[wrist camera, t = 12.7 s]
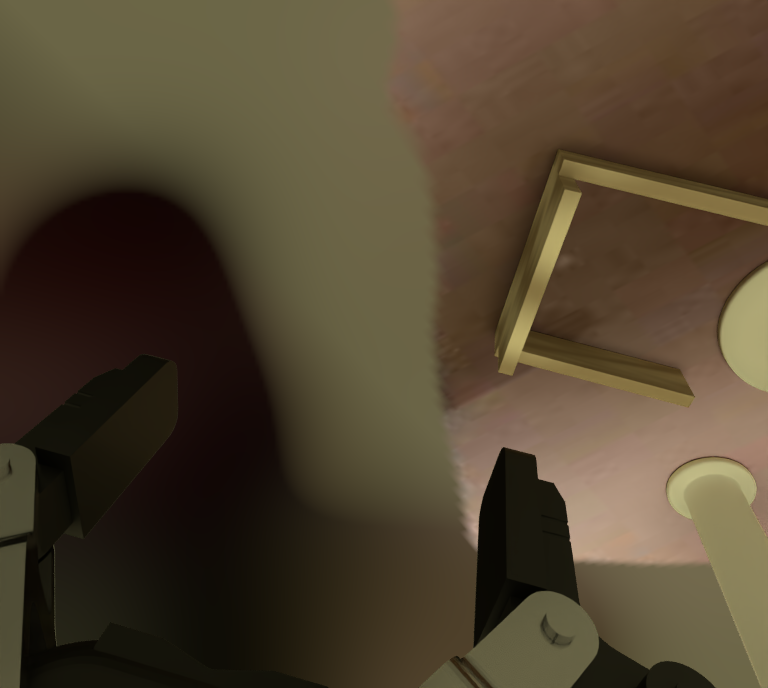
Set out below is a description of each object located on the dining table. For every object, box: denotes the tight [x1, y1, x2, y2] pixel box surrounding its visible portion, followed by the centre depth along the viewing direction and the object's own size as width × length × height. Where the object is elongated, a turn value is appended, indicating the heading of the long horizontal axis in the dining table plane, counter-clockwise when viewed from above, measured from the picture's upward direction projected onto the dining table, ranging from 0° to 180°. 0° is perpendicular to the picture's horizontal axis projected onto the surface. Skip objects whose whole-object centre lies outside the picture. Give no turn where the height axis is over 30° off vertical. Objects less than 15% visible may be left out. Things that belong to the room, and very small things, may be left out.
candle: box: [666, 457, 768, 688], centre depth 38 cm, size 7×7×25 cm
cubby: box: [495, 149, 768, 407], centre depth 38 cm, size 15×15×8 cm
